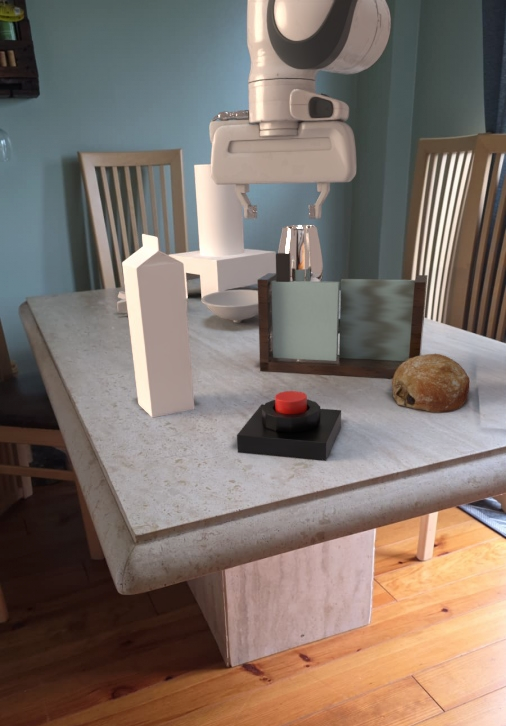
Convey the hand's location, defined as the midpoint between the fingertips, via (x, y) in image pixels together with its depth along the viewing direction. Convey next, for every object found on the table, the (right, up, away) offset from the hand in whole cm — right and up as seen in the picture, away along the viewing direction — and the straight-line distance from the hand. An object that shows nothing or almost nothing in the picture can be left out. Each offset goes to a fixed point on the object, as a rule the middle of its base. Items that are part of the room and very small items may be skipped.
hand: (282, 218), depth 89 cm
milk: (-16, -27, -5) cm, 32 cm away
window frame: (+9, -20, +8) cm, 24 cm away
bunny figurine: (-30, -2, +51) cm, 60 cm away
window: (+4, -19, +8) cm, 21 cm away
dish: (-7, -7, +40) cm, 41 cm away
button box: (0, -32, -16) cm, 36 cm away
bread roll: (+19, -26, -5) cm, 33 cm away
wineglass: (+4, -15, +21) cm, 26 cm away
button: (0, -29, -18) cm, 34 cm away
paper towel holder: (-12, +6, +69) cm, 70 cm away
